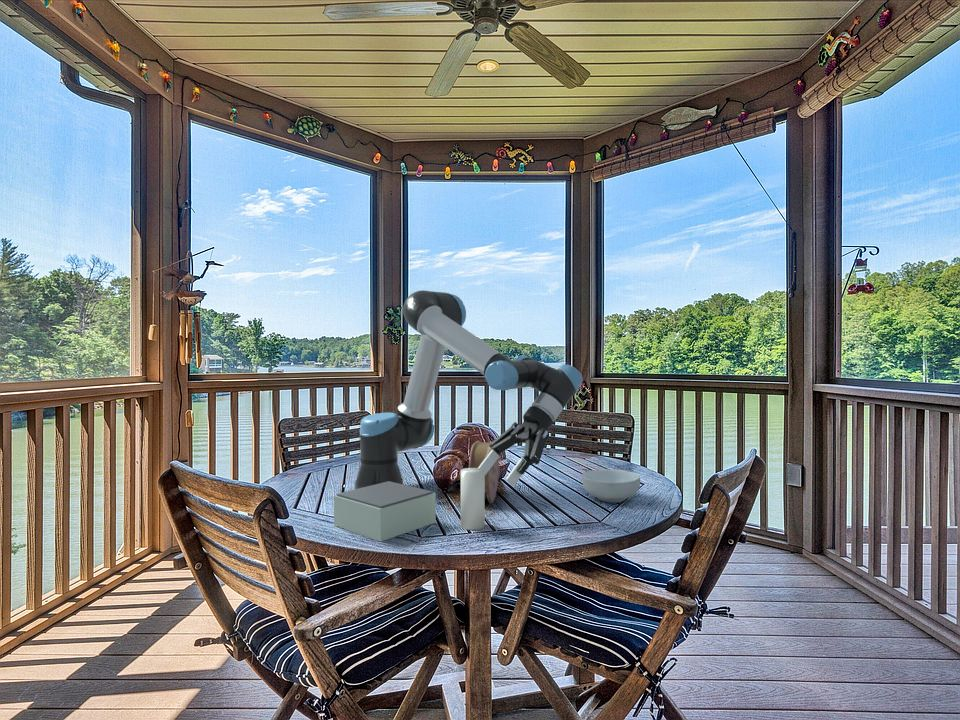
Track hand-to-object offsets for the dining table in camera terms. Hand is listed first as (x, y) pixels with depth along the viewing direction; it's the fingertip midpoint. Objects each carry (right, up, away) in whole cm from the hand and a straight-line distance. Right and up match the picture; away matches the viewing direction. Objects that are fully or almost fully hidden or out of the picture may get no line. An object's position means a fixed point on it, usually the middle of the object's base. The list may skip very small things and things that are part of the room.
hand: (494, 477), depth 139 cm
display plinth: (-28, -12, 0) cm, 30 cm away
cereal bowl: (+35, -12, +23) cm, 43 cm away
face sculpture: (-2, -12, +24) cm, 27 cm away
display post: (-6, -12, -2) cm, 13 cm away
